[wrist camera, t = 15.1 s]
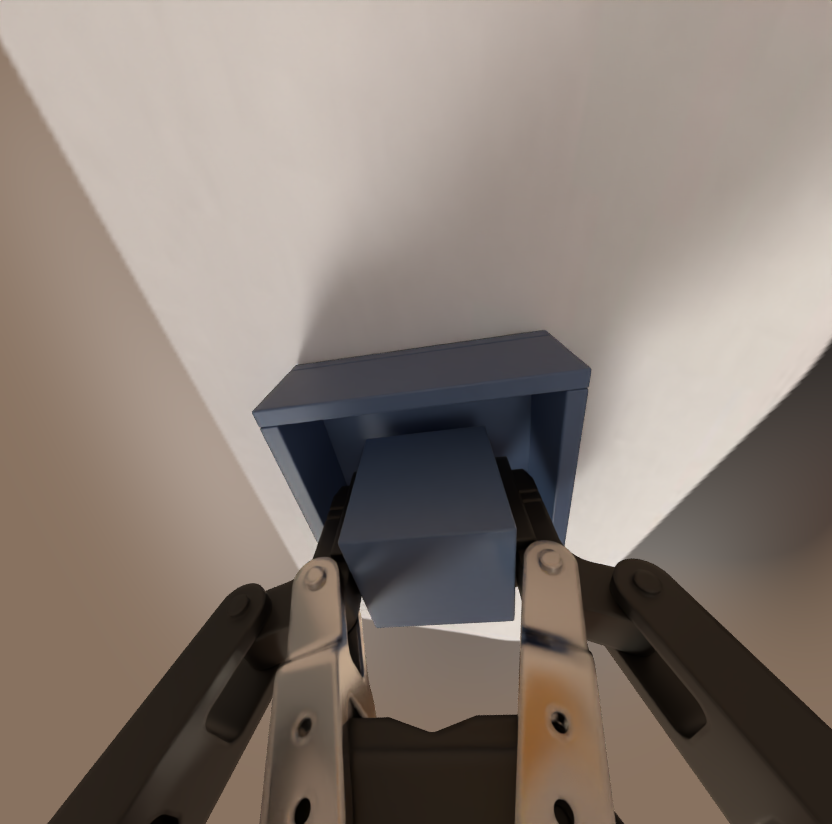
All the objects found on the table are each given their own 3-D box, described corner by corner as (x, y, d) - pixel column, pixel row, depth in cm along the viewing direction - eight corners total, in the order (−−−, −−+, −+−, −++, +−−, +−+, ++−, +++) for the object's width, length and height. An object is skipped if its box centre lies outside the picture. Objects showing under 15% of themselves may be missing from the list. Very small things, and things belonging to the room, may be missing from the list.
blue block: (365, 438, 11) (336, 543, 8) (485, 424, 11) (517, 529, 7) (389, 517, 14) (375, 628, 10) (488, 508, 13) (515, 621, 9)
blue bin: (295, 364, 12) (250, 412, 9) (546, 329, 11) (592, 368, 8) (356, 525, 17) (341, 591, 14) (533, 510, 16) (560, 577, 13)
